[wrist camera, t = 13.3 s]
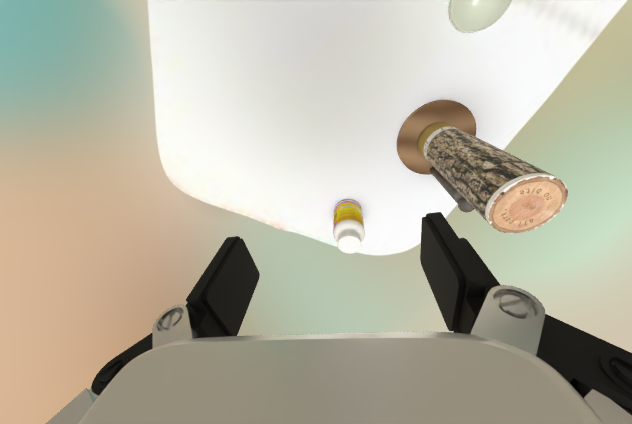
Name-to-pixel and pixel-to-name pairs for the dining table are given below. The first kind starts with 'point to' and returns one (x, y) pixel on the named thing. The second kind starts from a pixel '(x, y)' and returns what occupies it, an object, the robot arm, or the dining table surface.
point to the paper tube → (493, 179)
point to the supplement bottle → (348, 226)
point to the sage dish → (476, 13)
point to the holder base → (418, 123)
